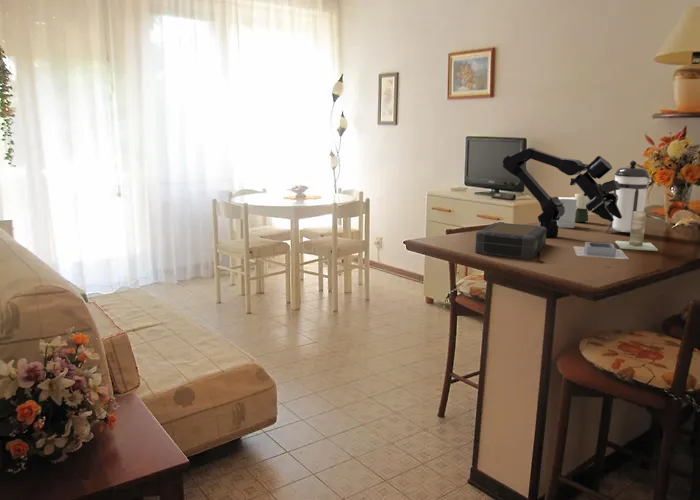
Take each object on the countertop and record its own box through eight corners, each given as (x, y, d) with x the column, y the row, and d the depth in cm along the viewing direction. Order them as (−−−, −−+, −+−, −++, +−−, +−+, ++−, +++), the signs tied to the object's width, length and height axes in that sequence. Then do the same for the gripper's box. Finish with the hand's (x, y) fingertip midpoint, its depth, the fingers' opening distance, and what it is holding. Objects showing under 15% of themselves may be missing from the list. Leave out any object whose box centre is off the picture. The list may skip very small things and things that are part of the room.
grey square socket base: (576, 258, 195) (577, 248, 194) (572, 248, 210) (573, 239, 209) (628, 262, 190) (629, 251, 189) (620, 252, 205) (622, 242, 204)
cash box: (491, 241, 223) (492, 221, 221) (545, 247, 213) (547, 226, 212) (471, 253, 201) (473, 231, 200) (531, 260, 192) (533, 237, 190)
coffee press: (635, 230, 249) (644, 159, 242) (650, 237, 233) (660, 162, 227) (594, 229, 251) (601, 159, 244) (606, 236, 235) (614, 161, 229)
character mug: (595, 222, 267) (598, 194, 264) (589, 224, 262) (592, 195, 259) (572, 219, 274) (574, 192, 272) (565, 221, 269) (568, 193, 267)
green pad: (620, 251, 207) (620, 246, 207) (615, 244, 218) (615, 240, 218) (657, 253, 204) (657, 249, 203) (650, 246, 215) (650, 242, 215)
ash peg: (636, 246, 208) (640, 213, 205) (626, 243, 212) (630, 211, 210) (645, 245, 209) (649, 212, 207) (635, 243, 213) (639, 211, 211)
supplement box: (574, 228, 252) (577, 199, 249) (556, 227, 254) (559, 198, 251) (571, 225, 259) (574, 197, 257) (554, 224, 261) (556, 196, 258)
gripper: (598, 174, 207) (627, 208, 202) (615, 171, 220) (642, 203, 216) (574, 194, 213) (601, 227, 209) (592, 190, 227) (618, 221, 222)
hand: (616, 219), depth 214 cm, fingers open, 9 cm apart
